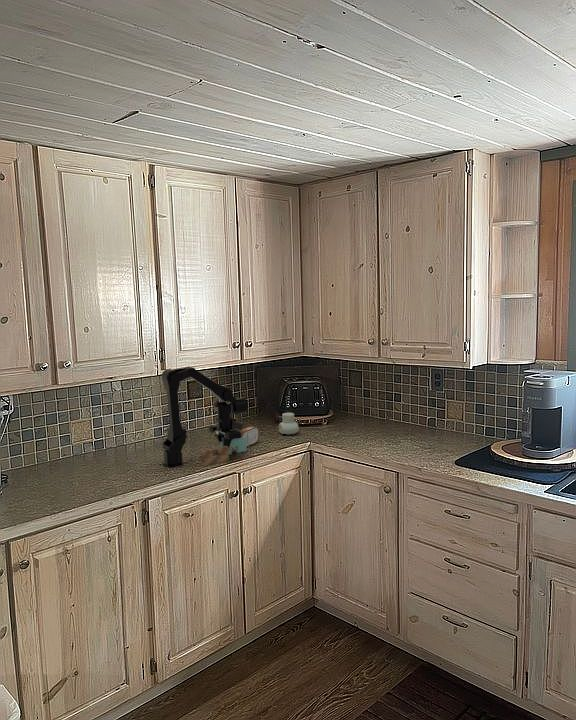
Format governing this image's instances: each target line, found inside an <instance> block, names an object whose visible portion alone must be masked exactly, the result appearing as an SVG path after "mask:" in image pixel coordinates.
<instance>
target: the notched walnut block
mask: <svg viewBox="0 0 576 720" xmlns="http://www.w3.org/2000/svg"><path fill="white" fill-rule="evenodd" d="M216 449H217V450H216V451H217V454H215V455H213V449H211V448H209V449H208V448H207V449H203V450H200V460H201V461H200V464H201V466H203V467H206V466H211V465H214V464H215V465H216V464H219V463H223V462H229V461H230V455H229V447H228V446H222V447H220V446H218V447H217V448H216Z"/></svg>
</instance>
